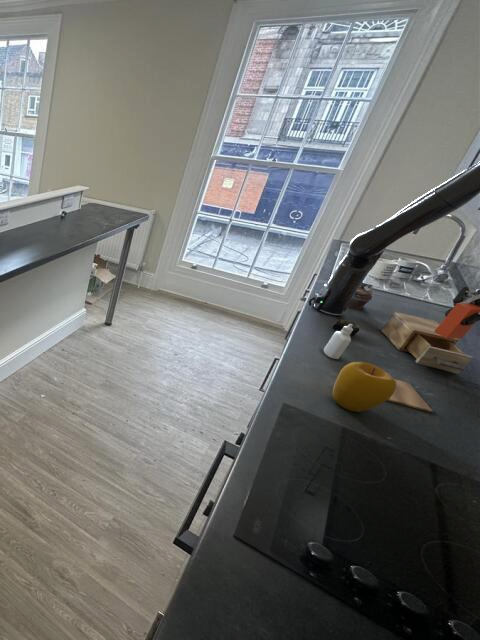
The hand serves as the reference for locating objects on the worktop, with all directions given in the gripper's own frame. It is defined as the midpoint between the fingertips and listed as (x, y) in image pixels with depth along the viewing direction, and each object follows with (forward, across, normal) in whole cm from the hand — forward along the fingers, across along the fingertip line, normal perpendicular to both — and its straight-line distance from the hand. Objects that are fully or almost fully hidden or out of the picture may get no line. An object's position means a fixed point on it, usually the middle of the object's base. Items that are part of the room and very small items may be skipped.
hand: (454, 319), depth 117 cm
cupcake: (-5, -47, +34) cm, 58 cm away
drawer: (+4, -5, +23) cm, 24 cm away
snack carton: (+2, 0, +5) cm, 6 cm away
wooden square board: (+26, +8, +2) cm, 27 cm away
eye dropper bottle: (+28, -10, 0) cm, 30 cm away
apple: (+41, +14, -13) cm, 46 cm away
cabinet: (0, -16, +28) cm, 33 cm away
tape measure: (+14, -24, +14) cm, 31 cm away
